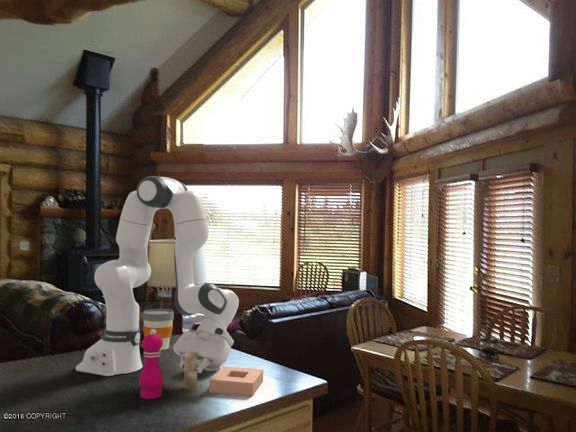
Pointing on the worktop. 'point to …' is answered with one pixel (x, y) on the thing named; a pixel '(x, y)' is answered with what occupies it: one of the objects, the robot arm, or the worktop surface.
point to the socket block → (236, 381)
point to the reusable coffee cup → (159, 324)
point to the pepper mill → (151, 367)
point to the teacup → (212, 366)
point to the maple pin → (190, 371)
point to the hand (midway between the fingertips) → (189, 370)
